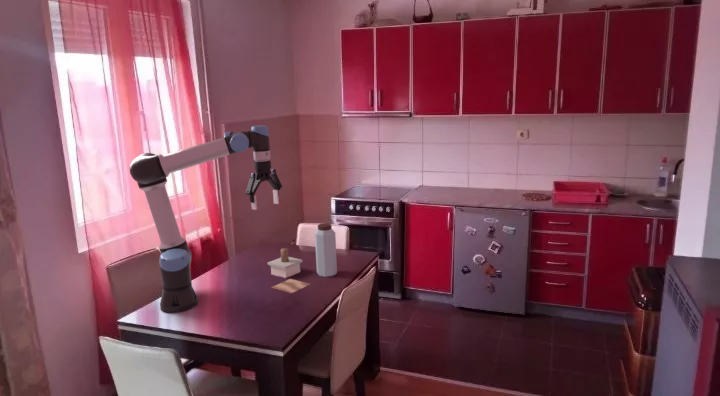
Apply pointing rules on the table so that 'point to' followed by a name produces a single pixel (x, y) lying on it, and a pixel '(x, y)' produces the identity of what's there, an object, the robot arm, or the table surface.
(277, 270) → the dish
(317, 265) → the water bottle
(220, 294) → the table surface
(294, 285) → the plate
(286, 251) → the lid
